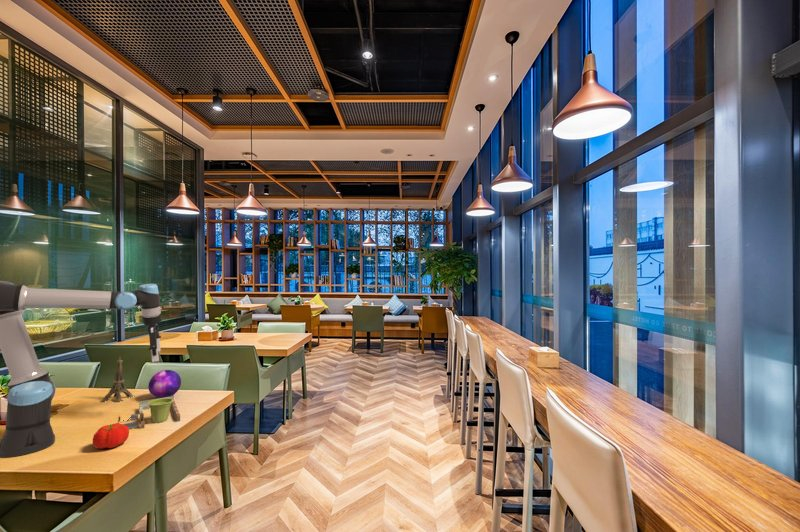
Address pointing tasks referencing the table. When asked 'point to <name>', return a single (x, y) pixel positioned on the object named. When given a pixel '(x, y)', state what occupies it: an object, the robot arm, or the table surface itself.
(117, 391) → the eiffel tower
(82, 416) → the table surface
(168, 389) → the decorative orb
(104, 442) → the tomato
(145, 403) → the grey and wooden pieces
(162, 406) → the plant pot
